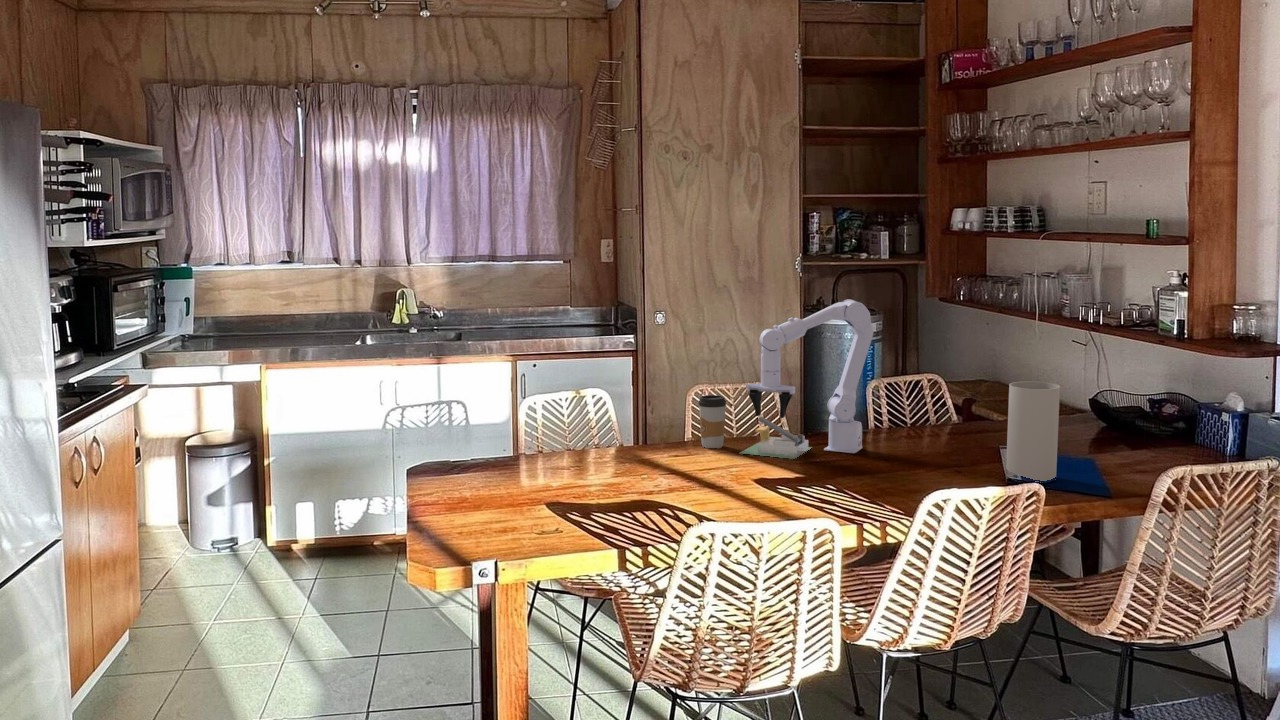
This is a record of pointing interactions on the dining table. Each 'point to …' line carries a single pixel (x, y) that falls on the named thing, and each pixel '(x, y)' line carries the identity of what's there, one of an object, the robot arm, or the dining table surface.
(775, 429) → the strap
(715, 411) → the coffee cup
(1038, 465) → the cylinder vase
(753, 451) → the pcb mat
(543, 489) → the dining table surface
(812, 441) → the dining table surface
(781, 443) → the heatsink block
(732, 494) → the dining table surface
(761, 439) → the latch
